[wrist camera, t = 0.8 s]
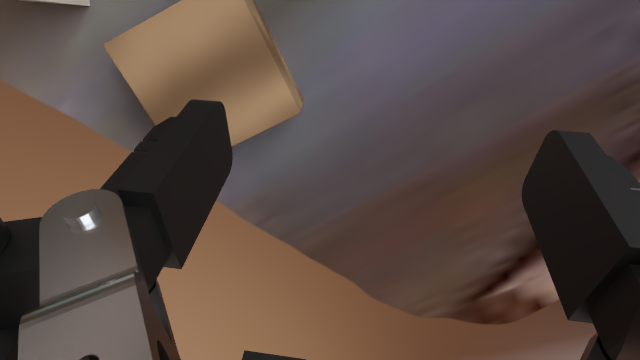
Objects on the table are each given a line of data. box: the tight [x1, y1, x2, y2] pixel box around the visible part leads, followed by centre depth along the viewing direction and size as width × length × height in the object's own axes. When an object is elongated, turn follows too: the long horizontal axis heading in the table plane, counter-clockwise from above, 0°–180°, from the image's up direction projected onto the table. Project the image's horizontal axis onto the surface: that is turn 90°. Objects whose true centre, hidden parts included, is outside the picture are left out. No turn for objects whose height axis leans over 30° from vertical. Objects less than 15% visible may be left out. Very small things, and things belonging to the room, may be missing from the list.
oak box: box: [103, 0, 303, 147], centre depth 29 cm, size 10×10×6 cm
